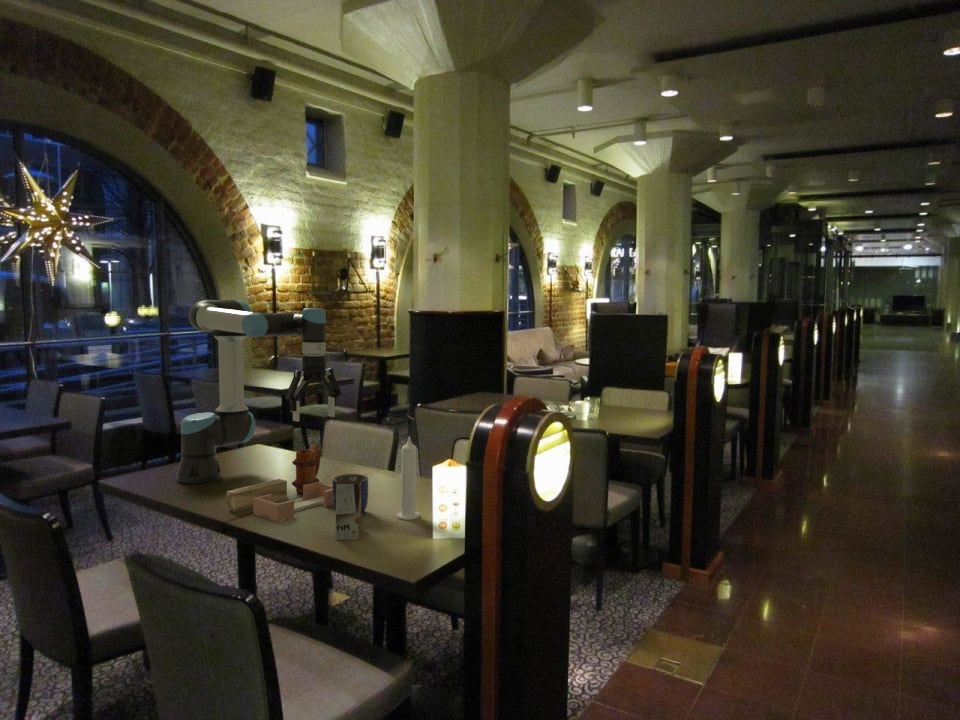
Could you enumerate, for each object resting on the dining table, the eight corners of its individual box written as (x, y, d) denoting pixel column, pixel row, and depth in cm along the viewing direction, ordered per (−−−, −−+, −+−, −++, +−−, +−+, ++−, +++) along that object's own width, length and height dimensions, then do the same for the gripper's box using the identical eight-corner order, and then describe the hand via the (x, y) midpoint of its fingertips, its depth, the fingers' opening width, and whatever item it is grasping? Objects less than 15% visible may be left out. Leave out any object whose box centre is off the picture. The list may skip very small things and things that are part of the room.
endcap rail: (253, 514, 213) (253, 498, 213) (317, 496, 234) (317, 481, 233) (277, 521, 207) (277, 505, 206) (341, 502, 227) (341, 487, 227)
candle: (410, 521, 210) (411, 439, 207) (392, 517, 213) (392, 437, 211) (424, 515, 216) (425, 436, 213) (406, 511, 219) (407, 433, 217)
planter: (352, 520, 209) (353, 484, 208) (325, 514, 214) (325, 479, 214) (375, 511, 219) (375, 476, 218) (348, 505, 224) (348, 471, 223)
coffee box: (358, 540, 193) (358, 483, 191) (335, 540, 192) (335, 483, 191) (361, 529, 202) (361, 474, 201) (339, 529, 201) (339, 474, 200)
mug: (310, 496, 233) (310, 452, 232) (288, 494, 235) (288, 450, 234) (328, 485, 248) (328, 443, 246) (307, 483, 249) (307, 442, 248)
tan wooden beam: (226, 510, 217) (226, 491, 217) (279, 496, 234) (279, 478, 233) (234, 512, 215) (234, 493, 215) (286, 498, 231) (286, 480, 231)
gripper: (286, 357, 218) (286, 424, 220) (351, 354, 236) (351, 416, 238) (274, 355, 223) (274, 421, 225) (338, 352, 241) (338, 413, 243)
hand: (314, 418), depth 231 cm, fingers open, 13 cm apart
